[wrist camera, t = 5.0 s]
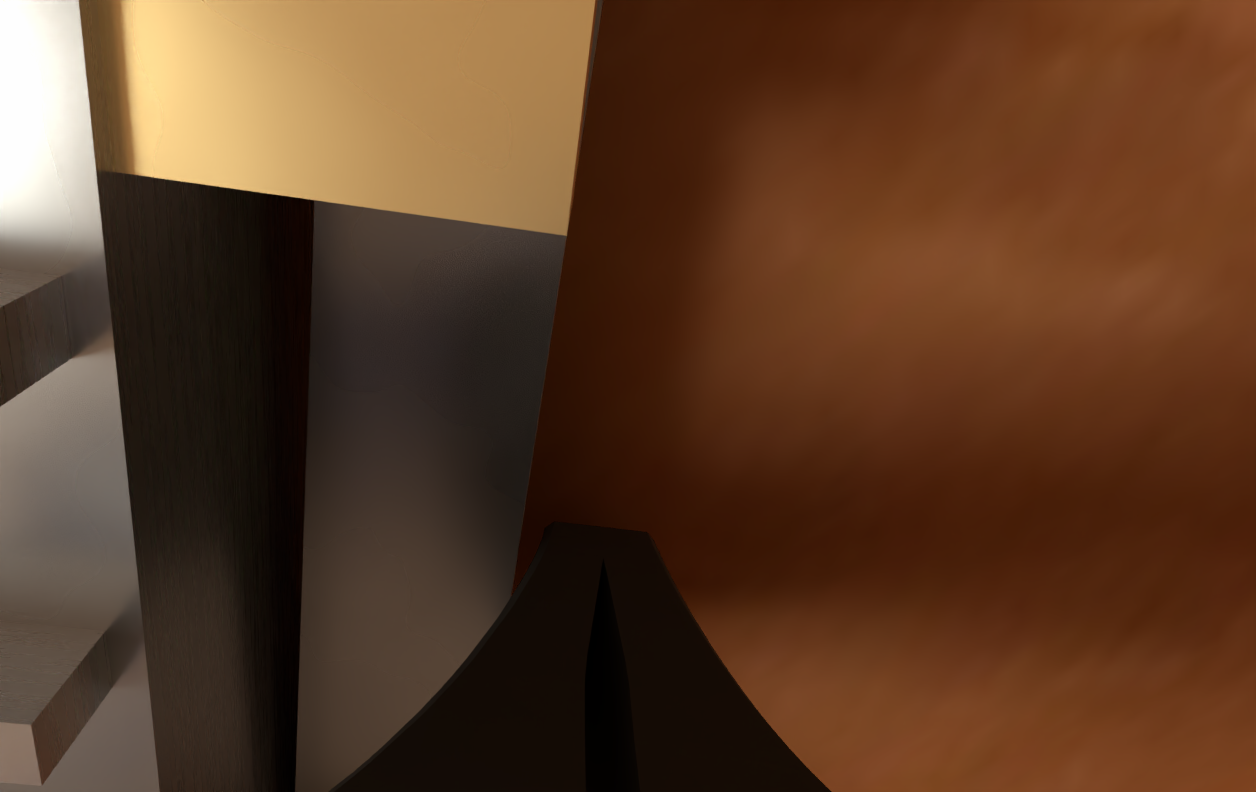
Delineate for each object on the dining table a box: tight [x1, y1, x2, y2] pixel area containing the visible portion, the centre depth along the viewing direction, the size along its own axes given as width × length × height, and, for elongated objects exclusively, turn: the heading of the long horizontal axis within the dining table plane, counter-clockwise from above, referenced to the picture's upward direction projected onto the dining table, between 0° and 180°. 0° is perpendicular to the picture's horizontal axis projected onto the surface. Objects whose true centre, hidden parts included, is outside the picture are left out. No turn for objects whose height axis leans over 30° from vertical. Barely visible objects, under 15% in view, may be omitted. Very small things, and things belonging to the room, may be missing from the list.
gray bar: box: [295, 0, 604, 792], centre depth 11 cm, size 20×3×3 cm, turn 170°
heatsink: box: [0, 0, 598, 792], centre depth 9 cm, size 18×10×6 cm, turn 171°
